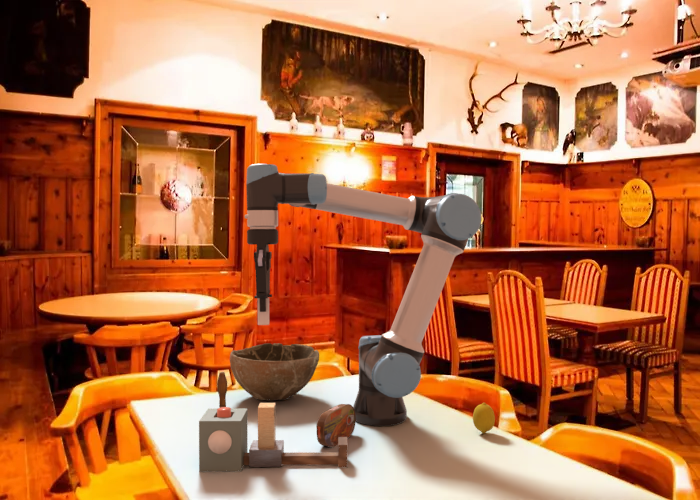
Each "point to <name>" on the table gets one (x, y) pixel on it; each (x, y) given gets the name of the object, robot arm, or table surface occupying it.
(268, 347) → the bowl
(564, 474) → the table surface
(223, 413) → the red rounded peg
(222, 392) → the hand bell
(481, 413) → the lemon
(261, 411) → the block
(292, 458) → the rail
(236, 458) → the grey hole block
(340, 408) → the tin
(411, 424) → the table surface
